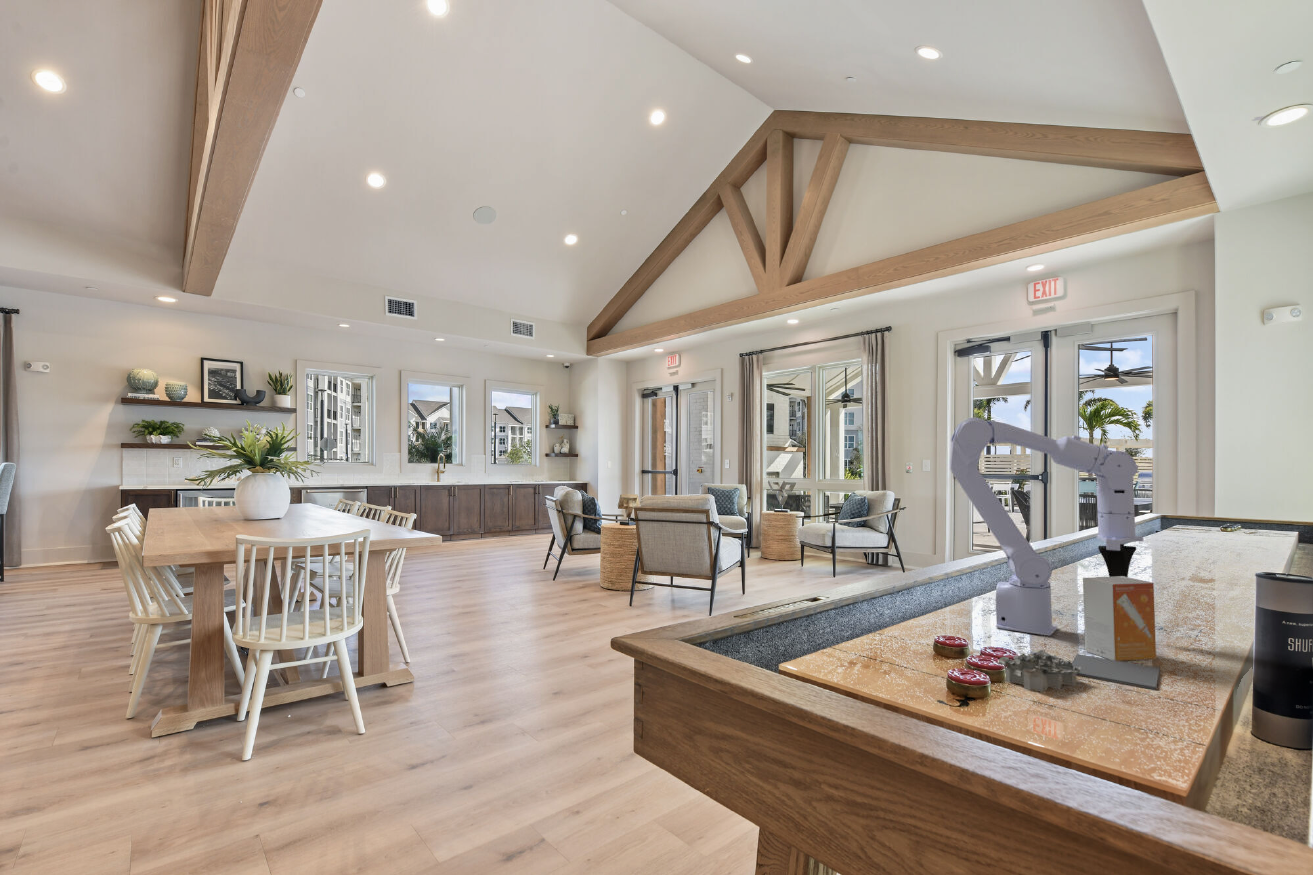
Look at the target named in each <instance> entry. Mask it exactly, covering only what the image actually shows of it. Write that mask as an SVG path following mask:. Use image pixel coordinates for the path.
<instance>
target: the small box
mask: <svg viewBox="0 0 1313 875" xmlns="http://www.w3.org/2000/svg"><path fill="white" fill-rule="evenodd" d="M1154 584H1155V583H1154V582H1151V581H1147V580H1142V579H1137V578H1132V577H1124V576H1117V577H1109V576H1095V577H1093V576H1092V577H1082V593H1083V594H1082V595H1083V622H1084V623H1083V626H1084V650H1085V651H1086V652H1087V653H1088V652H1089V653H1091V654H1092V655H1093V654H1094V655H1096V656H1098V657H1100V658H1103V659H1109V660H1115V661H1121V662H1125V661H1142V660H1143V661H1145V660H1146V661H1147V660H1156V659H1157V649H1156V648H1157V644H1156V617H1155V590H1154V588H1155V585H1154Z"/></svg>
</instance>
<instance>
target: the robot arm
mask: <svg viewBox="0 0 1313 875" xmlns="http://www.w3.org/2000/svg"><path fill="white" fill-rule="evenodd" d="M1081 439H1082V437H1081V436H1079V435H1078V436H1077V435H1072V436H1067V435H1066V436H1062V437H1060V438H1058V439H1055V438H1051V437H1049V436H1045V435H1042V434H1039V433H1035V432H1033V431H1030V430H1026V429H1024V428H1022V427H1021V428H1020V427H1019V426H1015V425H1013V424H1009V423H1004V422H1000V421H997V420H988V419H987V420H985V419H983V418H980V417H969V418H967V419H964V420H963V421H962V422H960V423H959V424H957V426H956V427H955V429H954V432H953V434H952V436H951V438H950V456H949V458H950V459H949V470H950V472H951V474H952V475H953V476H954V478H955V479H956V481H957V483H958V484H959V485H960V487H961V489H962V490H963V491H964V493H965V494H966V496H967V498H968V499H969V501H970V502H971V504H972V505H973V506H974V508H975V509H976V511H977V513H978V514H979V516H980V517H981V518H982V520H983V521H984V523H985V524H986V526H987V527H988V529H989V531H990V532H991V533H992V535H993V536H994V538H995V539H996V541H997V542H998V544H999V545H1000V548H1001V549H1002V551H1003V553H1004V554H1005V557H1006V559H1007V566H1008V568H1009V570H1010V571H1011V573H1012V575H1011V577H1009V578H1008V581H998V582H997V584H996V587H995V612H996V613H995V614H996V617H995V618H996V625H995V628H997V629H1002V630H1008V631H1009V630H1010V631H1013V632H1014V631H1016V632H1022V633H1029V634H1034V635H1035V634H1036V635H1042V636H1052V635H1053V634H1054V632H1056V630H1058V625H1057V624H1053V616H1052V615H1053V614H1052V610H1053V609H1052V589H1051V587H1052V585H1051V582H1050V579H1051V577H1052V574H1053V573H1052V572H1053V571H1052V570H1053V569H1052V566H1051V564H1050V562H1049V561H1048V559H1047V558H1045V557H1044V556H1042V555H1041V554H1039V553H1038V552H1037V551H1036V550H1035V549H1034V548H1033V547H1032V545H1031V544H1030V543H1029V541H1028V540H1027V539H1026V538H1025V536H1024V535H1023V534H1022V531H1020V529H1019V528H1018V526H1017V524H1016V523H1015V522H1014V520H1013V519H1012V518H1011V515H1010V514H1009V512H1008V511H1007V509H1006V508H1005V507H1004V506H1003V504H1002V503H1001V501H1000V499H999V498H998V497H997V496H996V494H995V492H994V491H993V489H992V487H990V485H989V483H988V481H987V480H986V479H985V478H984V476H983V475H982V473H981V472H980V471H979V469H978V464H979V461H980V459H981V456H982V452H983V451H984V450H985V448H986V447H987V445H994V444H996V445H997V444H1002V443H1006V444H1011V445H1013V446H1014V445H1015V446H1019V447H1023V448H1024V449H1029V450H1033V451H1036V452H1038V453H1039V452H1040V453H1043V454H1047V455H1049V456H1050V458H1051V459H1052V461H1053V463H1054V464H1056V465H1060V466H1064V467H1065V468H1066V467H1067V468H1070V469H1073V470H1076V471H1080V472H1083V473H1085V474H1088V475H1090V474H1093V475H1094V476H1095V477H1096V501H1097V502H1096V504H1097V506H1096V507H1097V509H1096V510H1097V530H1098V534H1097V535H1096V537H1097V540H1098V541H1101V542H1104V543H1105V545H1098V547H1097V548H1098V552H1099V553H1100V554H1101V557H1102V558H1103V560H1104V563H1105V566H1106V569H1107V573H1108V577H1117V576H1124V577H1128V576H1129V571H1130V570H1129V569H1130V565H1131V562H1132V559H1133V556H1134V553H1135V552H1136V550H1137V547H1136V546H1134V545H1125V544H1128V543H1136V542H1144V537H1143V536H1137V535H1136V521H1135V520H1136V519H1135V518H1136V517H1135V516H1136V515H1135V497H1134V496H1135V494H1134V493H1135V491H1134V480H1133V477H1135V476H1136V474H1137V472H1138V469H1139V465H1138V464H1136V460H1135V459H1134V457H1133V456H1131V455H1130V453H1127V452H1125V451H1122V450H1110V449H1109V446H1108V445H1106V444H1101V445H1097V444H1094V443H1092V442H1091V443H1090V442H1087V441H1085V440H1081Z"/></svg>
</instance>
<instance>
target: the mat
mask: <svg viewBox="0 0 1313 875" xmlns="http://www.w3.org/2000/svg"><path fill="white" fill-rule="evenodd" d="M1071 664H1072V665H1073V666H1074V667H1078V666H1081V668H1082V669H1080V673H1078V672H1076V673H1077V676H1078V677H1079V676H1080V677H1085V678H1091V679H1094V680H1095V679H1096V680H1101V681H1106V682H1112V683H1116V684H1123V685H1126V686H1127V685H1128V686H1133V687H1139V688H1142V689H1144V688H1145V689H1149V690H1153V691H1154V690H1155V691H1157V687H1158V682H1159V676H1160V672H1161V669H1160V667H1157V666H1150V665H1144V664H1140V663H1139V664H1138V663H1133V662H1128V661H1127V662H1126V661H1115V660H1110V659H1107V658H1104V657H1097V656H1091V655H1085V654H1078V653H1077V654H1076V655H1075V657H1074V658H1073V660H1072V662H1071Z"/></svg>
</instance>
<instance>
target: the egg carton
mask: <svg viewBox="0 0 1313 875" xmlns="http://www.w3.org/2000/svg"><path fill="white" fill-rule="evenodd" d="M1012 657H1013V659H1014V660H1012V659H1009V658H1010V657H1008V656H1001V657H1000V658H999V660H998V662H997V664H998V665H999V664H1001V665H1000V666H1003V665H1004V666H1005V673H1006V679H1004V681H1005V682H1006V683H1008V684H1019V685H1022V686H1023V688H1024V689H1026V690H1028V691H1036V692H1037V691H1038V692H1047V691H1048V688H1054V689H1061V688H1062V685H1069V686H1077V685H1078V682H1077V676H1078V675H1077V673H1076V672H1078V673H1080V669H1082V668H1081V666H1078V667H1074V666H1073V665H1072V664H1071V663H1072V662H1071V661H1070V660H1064V659H1063V658H1061V657H1058V656H1057V655H1055V654H1054V655H1052V654H1049V652H1047V651H1045V650H1043V649H1040V650H1039V651H1037V652H1033V653H1027V655H1026V654H1025V653H1022V654H1020V655H1014V656H1012ZM1006 664H1007V665H1008V668H1006Z"/></svg>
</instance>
